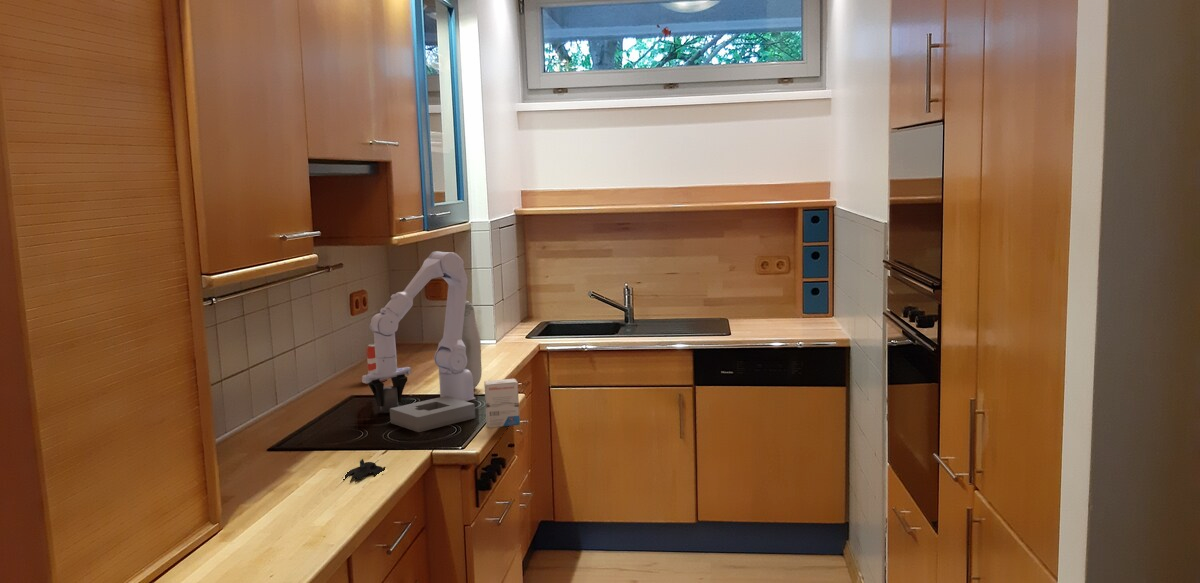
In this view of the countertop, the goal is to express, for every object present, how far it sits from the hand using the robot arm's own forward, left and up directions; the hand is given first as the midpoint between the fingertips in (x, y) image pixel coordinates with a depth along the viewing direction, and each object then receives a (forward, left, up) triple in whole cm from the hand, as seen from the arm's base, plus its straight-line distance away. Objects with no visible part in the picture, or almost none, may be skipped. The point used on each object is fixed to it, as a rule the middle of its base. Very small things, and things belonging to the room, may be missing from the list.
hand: (389, 403), depth 258 cm
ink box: (-14, +34, -3) cm, 37 cm away
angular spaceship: (+33, +44, -4) cm, 55 cm away
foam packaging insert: (-4, +16, -3) cm, 17 cm away
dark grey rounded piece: (0, 0, -1) cm, 1 cm away
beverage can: (-20, -41, -3) cm, 46 cm away
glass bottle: (-31, -7, -3) cm, 32 cm away
